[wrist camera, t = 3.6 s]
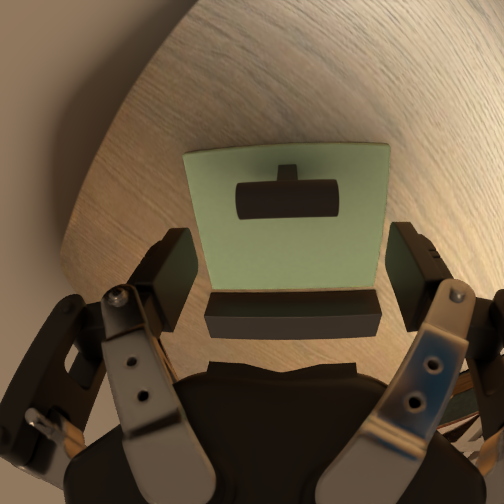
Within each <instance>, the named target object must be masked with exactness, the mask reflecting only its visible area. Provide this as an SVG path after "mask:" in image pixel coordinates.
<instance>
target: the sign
mask: <svg viewBox="0 0 504 504" xmlns="http://www.w3.org/2000/svg"><path fill="white" fill-rule="evenodd" d="M390 147H391V146H390V145H389V144H382V143H351V142H316V143H284V144H266V145H252V146H240V147H229V148H220V149H211V150H202V151H194V152H187V153H184V154H183V161H184V166H185V171H186V176H187V180H188V185H189V190H190V195H191V199H192V204H193V208H194V213H195V217H196V222H197V226H198V231H199V235H200V239H201V244H202V248H203V252H204V256H205V260H206V264H207V268H208V272H209V276H210V280H211V284H212V288H213V289H308V288H343V287H369V286H374V281H375V275H376V270H377V265H378V259H379V253H380V247H381V240H382V233H383V226H384V218H385V210H386V201H387V191H388V179H389V166H390Z"/></svg>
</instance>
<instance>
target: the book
mask: <svg viewBox="0 0 504 504" xmlns="http://www.w3.org/2000/svg"><path fill="white" fill-rule="evenodd" d="M501 357H502V360H503V363H504V355H503V356H501ZM476 414H479V409H478V404H477V400H476V395H475V391H474V387H473V383H472V379H471V375H470V372H469V370H468V371H465V372H463V373H460V374H459V376H458V379H457V382H456V384H455V387H454V389H453V392H452V395H451V397H450V399H449V402H448V404H447V407H446V409H445V411H444V413H443V416H442V418H441V420H440V422H439V424H438V426H437V428H436V430H437V429H440V428H443V427H446V426H448V425H451V424H454V423H456V422H459V421H462V420H464V419H467V418H469V417H472V416H474V415H476Z"/></svg>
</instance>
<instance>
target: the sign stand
mask: <svg viewBox="0 0 504 504" xmlns="http://www.w3.org/2000/svg"><path fill="white" fill-rule="evenodd" d="M381 316H382V312H381V308H380V304H379V301H378V297H377V294H376V291H375V290H365V291H339V292H303V293H211V295H210V298H209V301H208V305H207V308H206V311H205V314H204V318H205V321H206V324H207V327H208V330H209V333H210V336H211V338H226V339H259V340H305V339H338V338H357V337H372V336H376V333H377V330H378V326H379V323H380V319H381Z"/></svg>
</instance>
